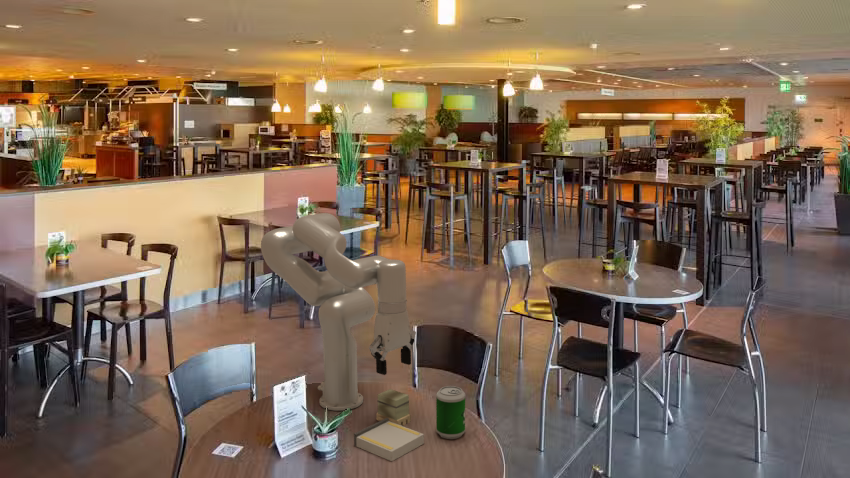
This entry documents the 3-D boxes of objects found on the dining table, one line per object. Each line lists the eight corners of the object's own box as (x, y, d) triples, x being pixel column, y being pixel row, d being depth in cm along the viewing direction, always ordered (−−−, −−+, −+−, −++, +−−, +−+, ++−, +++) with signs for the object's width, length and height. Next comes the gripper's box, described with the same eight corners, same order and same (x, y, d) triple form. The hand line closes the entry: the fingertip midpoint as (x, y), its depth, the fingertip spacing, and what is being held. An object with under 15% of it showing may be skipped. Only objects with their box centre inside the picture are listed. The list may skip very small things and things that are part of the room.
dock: (354, 445, 168) (353, 433, 168) (386, 429, 178) (386, 417, 177) (391, 461, 160) (391, 448, 160) (423, 443, 170) (423, 431, 169)
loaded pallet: (376, 419, 183) (375, 393, 182) (389, 413, 187) (388, 388, 186) (398, 428, 178) (397, 401, 177) (410, 421, 182) (410, 395, 181)
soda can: (462, 441, 170) (463, 397, 168) (433, 439, 172) (433, 394, 170) (467, 428, 178) (467, 385, 176) (439, 426, 179) (439, 383, 177)
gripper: (403, 298, 186) (404, 357, 189) (359, 311, 173) (361, 374, 176) (424, 302, 182) (425, 362, 184) (380, 316, 168) (382, 381, 171)
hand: (394, 368), depth 180 cm, fingers open, 9 cm apart
